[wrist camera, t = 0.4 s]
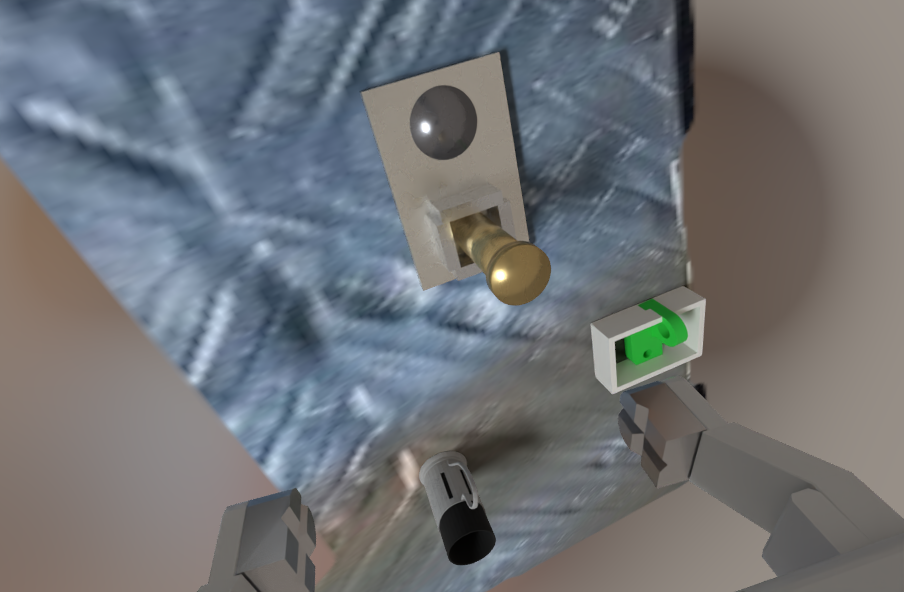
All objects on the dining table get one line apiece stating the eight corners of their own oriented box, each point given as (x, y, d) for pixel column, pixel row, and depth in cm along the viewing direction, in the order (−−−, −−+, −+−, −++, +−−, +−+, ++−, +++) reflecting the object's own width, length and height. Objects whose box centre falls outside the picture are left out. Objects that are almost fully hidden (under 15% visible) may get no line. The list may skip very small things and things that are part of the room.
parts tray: (590, 323, 73) (608, 338, 69) (683, 285, 76) (706, 298, 72) (595, 376, 80) (612, 394, 75) (680, 340, 82) (701, 355, 78)
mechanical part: (621, 312, 74) (654, 336, 67) (652, 298, 75) (687, 321, 68) (626, 364, 80) (657, 392, 74) (655, 351, 81) (687, 377, 74)
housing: (359, 91, 48) (366, 94, 44) (494, 52, 51) (514, 50, 46) (420, 285, 61) (431, 304, 56) (526, 247, 63) (544, 261, 59)
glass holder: (417, 492, 79) (441, 573, 66) (423, 430, 73) (450, 507, 60) (464, 483, 82) (495, 560, 69) (473, 423, 76) (509, 495, 63)
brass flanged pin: (438, 212, 55) (485, 259, 42) (486, 196, 56) (546, 236, 43) (450, 257, 59) (497, 314, 45) (495, 241, 60) (554, 292, 46)
